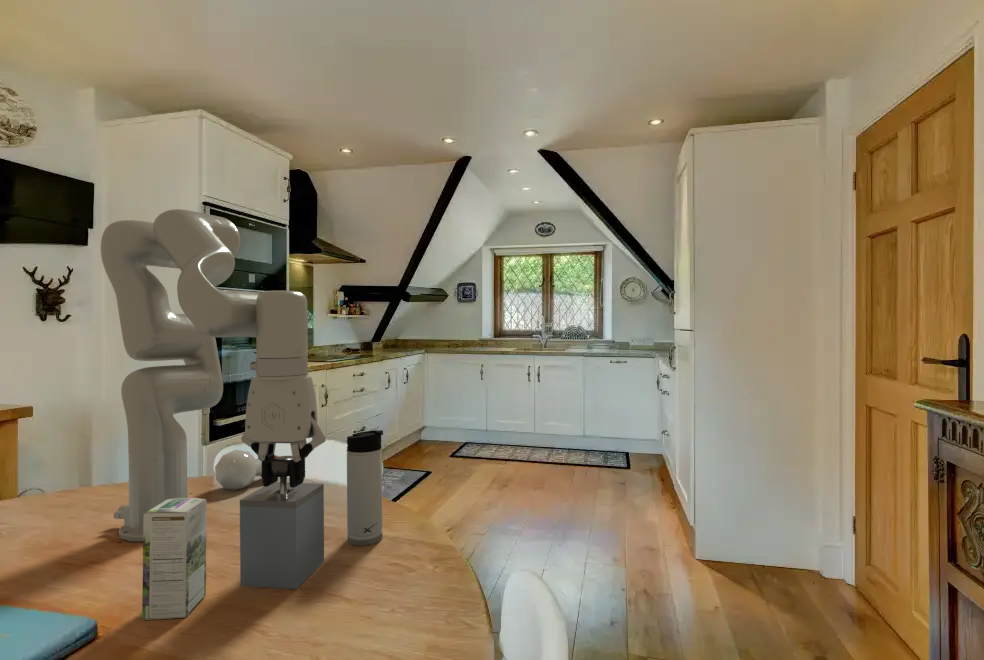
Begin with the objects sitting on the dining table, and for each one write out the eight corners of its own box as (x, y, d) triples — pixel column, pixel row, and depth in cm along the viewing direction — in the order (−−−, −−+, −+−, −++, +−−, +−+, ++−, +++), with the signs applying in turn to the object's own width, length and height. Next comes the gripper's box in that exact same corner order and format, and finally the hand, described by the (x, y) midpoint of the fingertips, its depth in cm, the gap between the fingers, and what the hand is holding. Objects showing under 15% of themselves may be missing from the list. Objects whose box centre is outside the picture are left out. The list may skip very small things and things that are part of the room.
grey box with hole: (240, 585, 77) (239, 499, 77) (273, 559, 86) (272, 481, 86) (296, 589, 76) (295, 501, 76) (324, 561, 85) (323, 483, 85)
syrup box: (165, 598, 73) (164, 498, 73) (207, 596, 74) (207, 496, 74) (141, 621, 68) (140, 512, 68) (187, 618, 68) (187, 510, 68)
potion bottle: (211, 499, 120) (268, 490, 133) (233, 480, 117) (289, 472, 129) (202, 464, 124) (258, 458, 137) (223, 444, 120) (279, 439, 133)
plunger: (257, 560, 78) (256, 462, 78) (277, 544, 84) (276, 453, 84) (291, 562, 78) (290, 463, 78) (309, 546, 83) (308, 454, 83)
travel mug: (375, 548, 90) (374, 434, 90) (341, 545, 91) (340, 433, 91) (389, 533, 96) (388, 427, 96) (357, 531, 97) (356, 426, 97)
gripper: (218, 370, 78) (219, 490, 78) (321, 371, 76) (322, 494, 76) (248, 367, 86) (249, 476, 86) (342, 367, 83) (343, 479, 83)
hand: (283, 483), depth 81 cm, fingers closed on plunger, 3 cm apart
